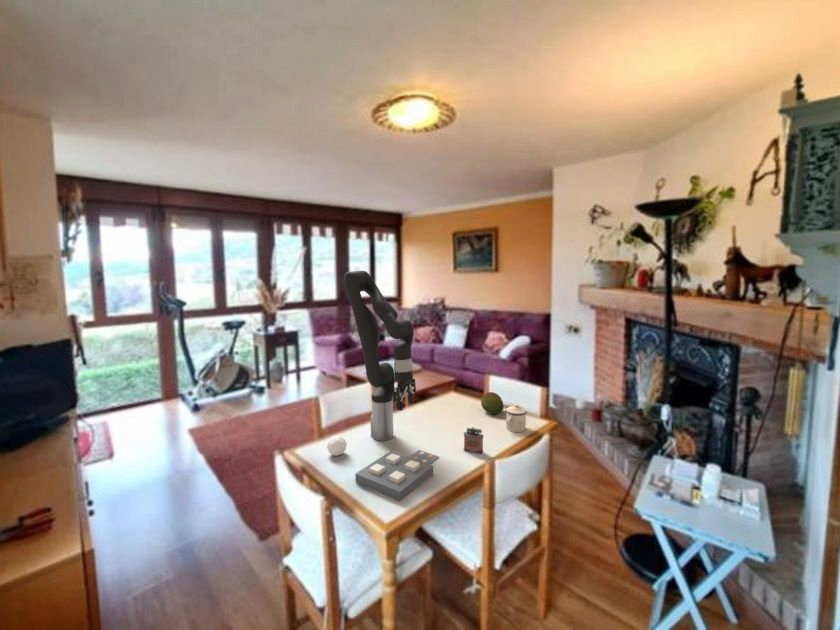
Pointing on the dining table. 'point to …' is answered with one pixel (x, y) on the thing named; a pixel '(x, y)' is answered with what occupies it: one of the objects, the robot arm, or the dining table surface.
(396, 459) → the button
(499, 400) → the fruit
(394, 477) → the button
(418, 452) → the pattern card
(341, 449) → the geometric ball
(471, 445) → the lighter
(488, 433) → the dining table surface
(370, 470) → the button
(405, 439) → the dining table surface
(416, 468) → the button
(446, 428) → the dining table surface
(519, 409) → the teacup with lid
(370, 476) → the button box
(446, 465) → the dining table surface
